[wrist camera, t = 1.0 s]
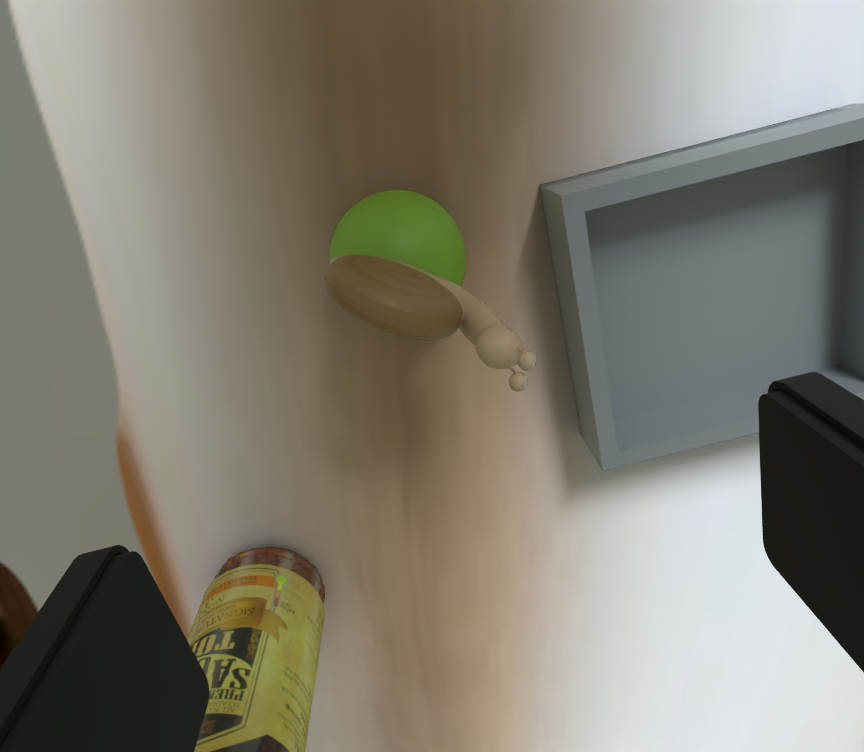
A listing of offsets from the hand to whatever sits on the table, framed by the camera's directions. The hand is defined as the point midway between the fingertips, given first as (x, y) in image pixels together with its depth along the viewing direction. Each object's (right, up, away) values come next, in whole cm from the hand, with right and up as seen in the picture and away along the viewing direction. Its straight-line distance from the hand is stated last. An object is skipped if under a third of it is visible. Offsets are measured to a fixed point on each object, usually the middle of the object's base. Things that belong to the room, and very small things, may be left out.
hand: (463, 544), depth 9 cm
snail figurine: (-2, +8, +19) cm, 20 cm away
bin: (+12, +7, +20) cm, 24 cm away
